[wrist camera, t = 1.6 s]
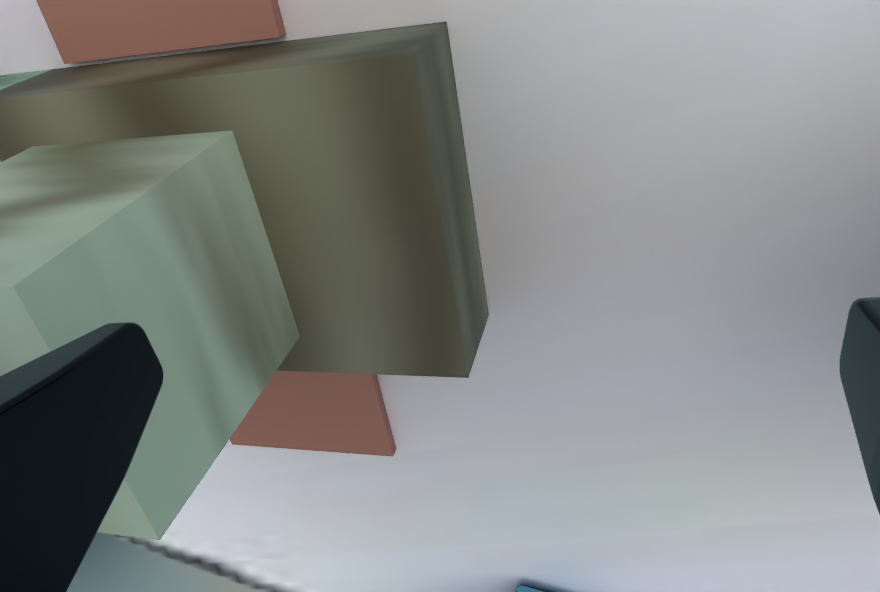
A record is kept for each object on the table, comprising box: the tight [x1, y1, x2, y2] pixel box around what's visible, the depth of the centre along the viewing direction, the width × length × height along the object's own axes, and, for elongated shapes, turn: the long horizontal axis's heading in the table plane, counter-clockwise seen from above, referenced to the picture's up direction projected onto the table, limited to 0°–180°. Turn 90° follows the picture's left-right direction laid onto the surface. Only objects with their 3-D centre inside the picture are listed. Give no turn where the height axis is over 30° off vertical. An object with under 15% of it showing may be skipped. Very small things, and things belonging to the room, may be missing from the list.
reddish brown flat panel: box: [37, 0, 396, 456], centre depth 24 cm, size 8×24×1 cm, turn 10°
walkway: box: [0, 22, 489, 378], centre depth 23 cm, size 22×10×4 cm, turn 100°
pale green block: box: [0, 131, 300, 540], centre depth 18 cm, size 7×7×8 cm
